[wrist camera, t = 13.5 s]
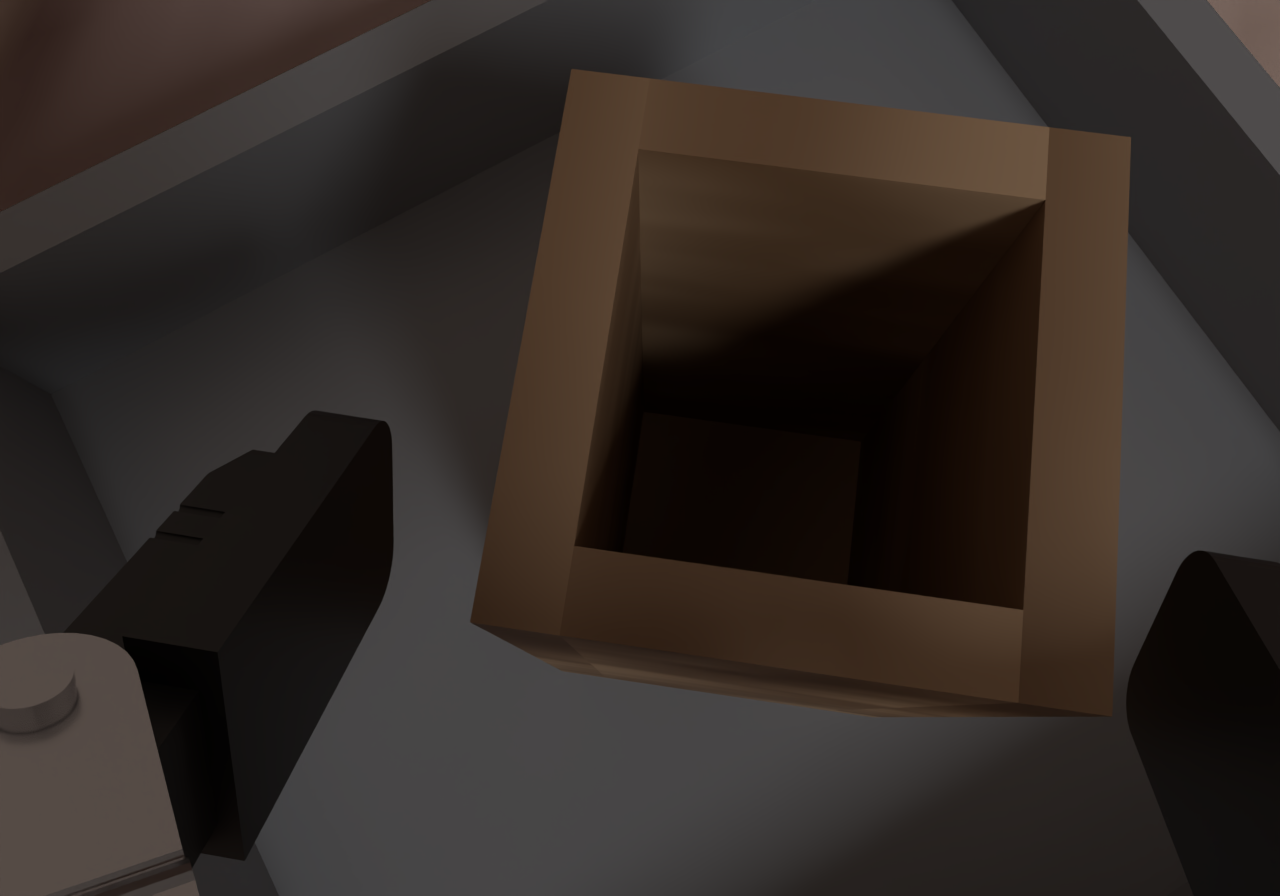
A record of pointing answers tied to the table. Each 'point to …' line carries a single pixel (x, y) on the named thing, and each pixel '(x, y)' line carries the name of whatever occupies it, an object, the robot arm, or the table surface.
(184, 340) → the grey tray
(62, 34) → the table surface
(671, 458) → the walnut crate
